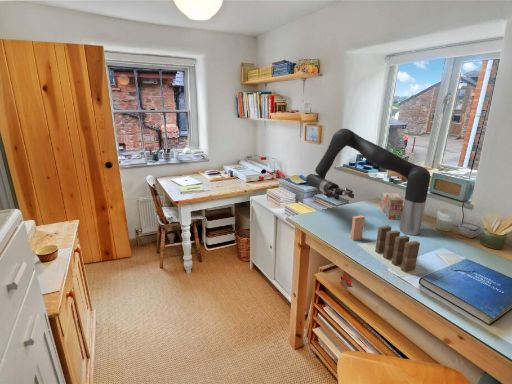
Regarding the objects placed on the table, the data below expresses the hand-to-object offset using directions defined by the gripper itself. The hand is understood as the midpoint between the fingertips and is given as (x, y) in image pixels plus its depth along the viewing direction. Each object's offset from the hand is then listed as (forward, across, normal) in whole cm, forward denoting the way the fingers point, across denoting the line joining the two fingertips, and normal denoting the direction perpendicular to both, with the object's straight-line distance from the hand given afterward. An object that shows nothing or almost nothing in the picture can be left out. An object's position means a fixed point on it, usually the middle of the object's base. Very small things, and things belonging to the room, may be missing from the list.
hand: (346, 197), depth 143 cm
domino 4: (+40, +3, +17) cm, 44 cm away
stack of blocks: (-12, +41, +18) cm, 46 cm away
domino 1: (+25, +3, +18) cm, 31 cm away
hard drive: (+42, +26, +18) cm, 52 cm away
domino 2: (+30, +3, +17) cm, 35 cm away
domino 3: (+35, +3, +17) cm, 39 cm away
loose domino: (+11, 0, +18) cm, 21 cm away
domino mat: (+30, +3, +18) cm, 35 cm away
